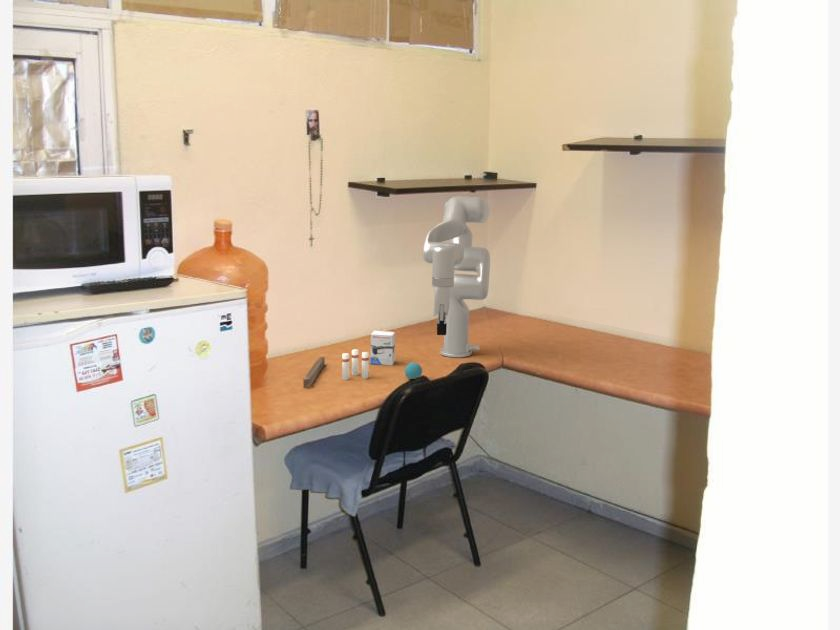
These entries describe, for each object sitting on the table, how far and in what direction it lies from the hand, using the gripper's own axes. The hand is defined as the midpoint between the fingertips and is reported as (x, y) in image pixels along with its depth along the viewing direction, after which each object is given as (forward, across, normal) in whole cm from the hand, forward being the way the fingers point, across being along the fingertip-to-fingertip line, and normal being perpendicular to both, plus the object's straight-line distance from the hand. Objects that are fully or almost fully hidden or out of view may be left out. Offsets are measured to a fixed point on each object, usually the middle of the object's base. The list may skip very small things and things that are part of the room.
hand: (441, 334), depth 276 cm
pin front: (+17, 0, -26) cm, 31 cm away
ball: (+14, 0, -10) cm, 17 cm away
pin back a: (+17, -3, -30) cm, 35 cm away
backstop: (+17, 0, -44) cm, 48 cm away
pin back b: (+17, +2, -33) cm, 37 cm away
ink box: (+17, -19, -22) cm, 34 cm away
